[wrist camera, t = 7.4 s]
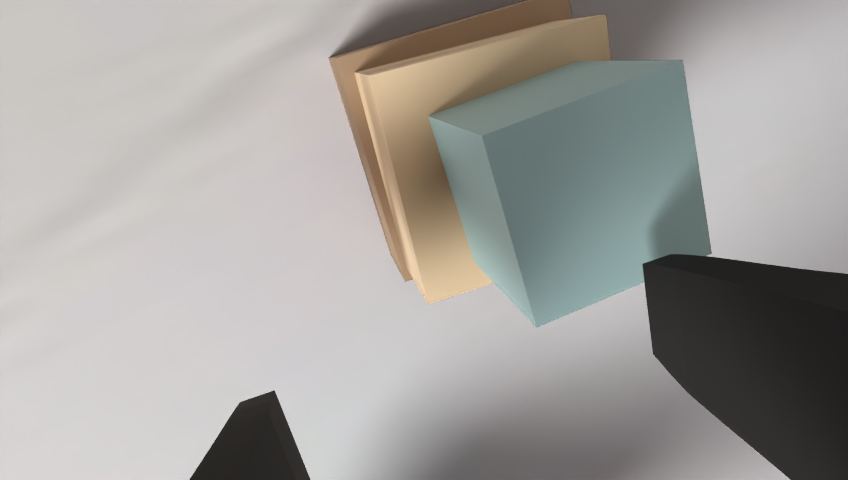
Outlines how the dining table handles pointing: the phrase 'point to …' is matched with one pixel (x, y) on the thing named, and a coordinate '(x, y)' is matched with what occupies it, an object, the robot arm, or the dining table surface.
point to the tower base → (539, 7)
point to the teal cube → (576, 181)
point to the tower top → (416, 146)
